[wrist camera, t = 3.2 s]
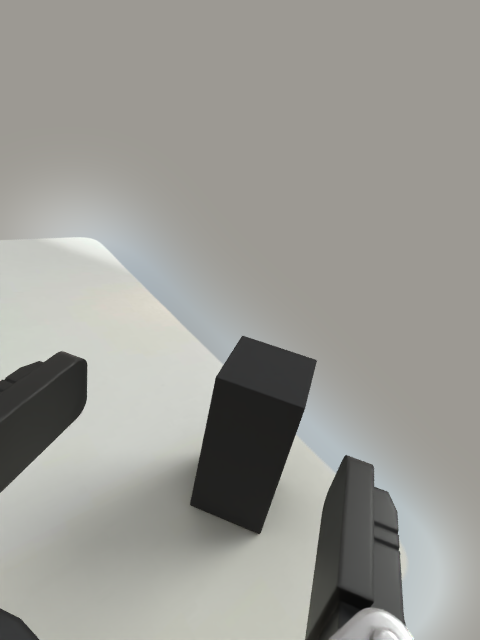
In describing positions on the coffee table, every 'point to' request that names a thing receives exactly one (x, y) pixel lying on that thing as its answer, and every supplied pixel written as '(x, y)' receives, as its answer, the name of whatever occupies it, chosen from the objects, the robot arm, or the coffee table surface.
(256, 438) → the tall black rectangular block
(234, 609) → the coffee table surface
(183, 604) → the coffee table surface
